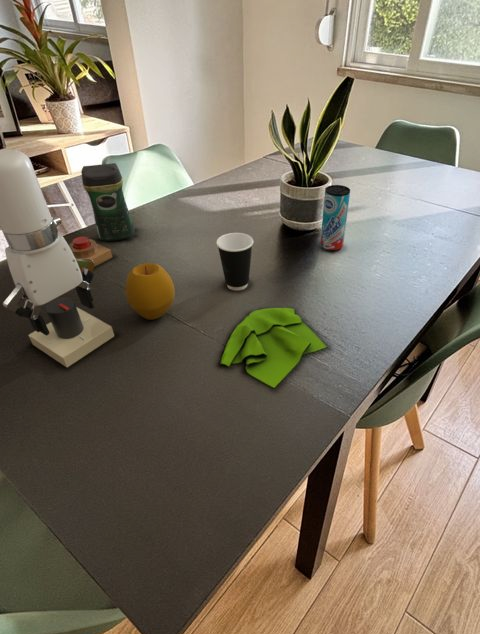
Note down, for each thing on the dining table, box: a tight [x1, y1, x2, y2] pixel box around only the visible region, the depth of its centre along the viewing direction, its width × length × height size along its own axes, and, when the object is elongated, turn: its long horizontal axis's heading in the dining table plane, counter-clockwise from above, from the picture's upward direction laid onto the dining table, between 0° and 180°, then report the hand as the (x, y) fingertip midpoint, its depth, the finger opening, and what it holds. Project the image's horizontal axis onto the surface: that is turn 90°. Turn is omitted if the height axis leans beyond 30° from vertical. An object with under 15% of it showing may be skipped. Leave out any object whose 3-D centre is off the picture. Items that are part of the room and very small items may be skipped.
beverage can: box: [319, 184, 351, 252], centre depth 106 cm, size 6×6×15 cm
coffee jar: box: [80, 162, 136, 242], centre depth 110 cm, size 10×8×19 cm
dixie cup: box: [215, 232, 254, 292], centre depth 94 cm, size 8×8×11 cm
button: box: [72, 236, 90, 250], centre depth 104 cm, size 4×4×2 cm
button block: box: [68, 238, 113, 274], centre depth 106 cm, size 9×9×4 cm
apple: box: [124, 262, 176, 320], centre depth 86 cm, size 10×10×12 cm
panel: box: [27, 306, 115, 368], centre depth 83 cm, size 11×11×3 cm
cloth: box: [220, 307, 328, 389], centre depth 82 cm, size 20×22×2 cm
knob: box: [45, 297, 84, 339], centre depth 80 cm, size 5×5×6 cm
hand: (66, 318), depth 80 cm, fingers open, 9 cm apart
